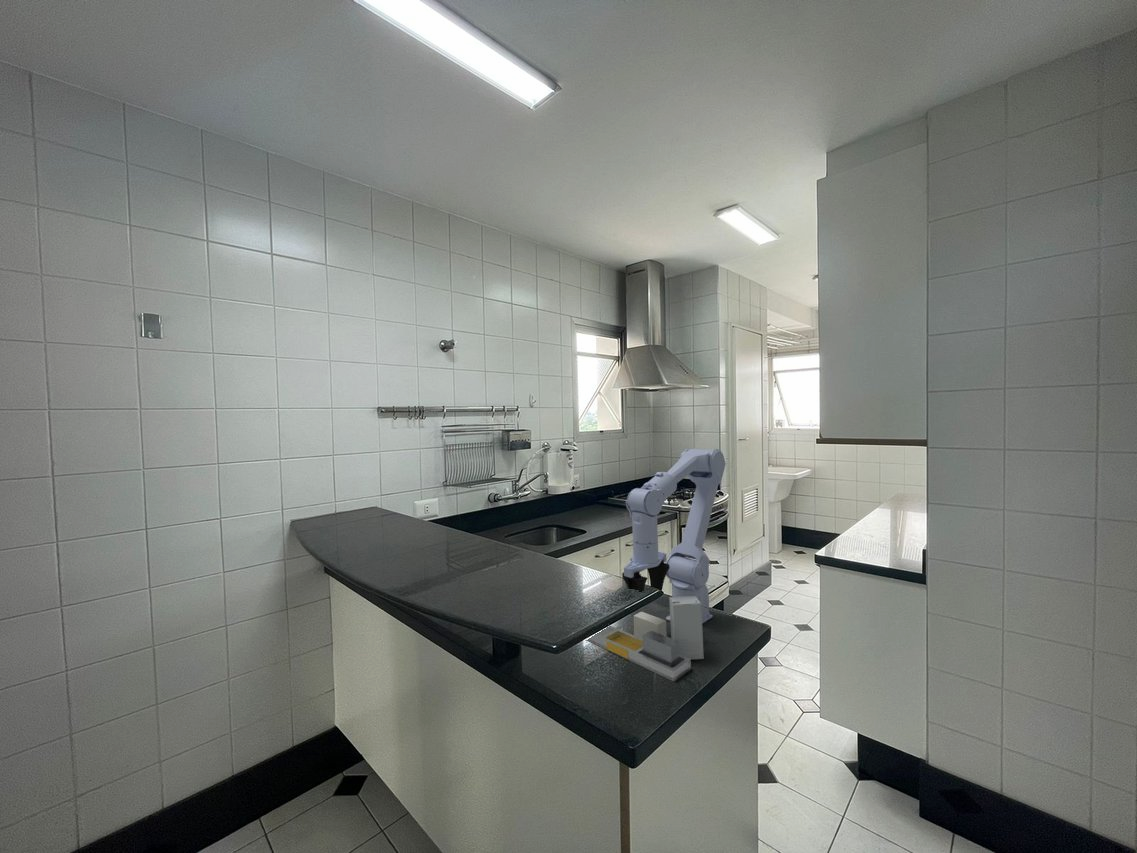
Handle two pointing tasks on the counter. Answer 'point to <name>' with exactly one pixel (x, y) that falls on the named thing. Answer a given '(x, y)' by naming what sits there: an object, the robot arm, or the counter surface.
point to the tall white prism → (648, 624)
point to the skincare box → (687, 625)
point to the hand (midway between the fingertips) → (647, 599)
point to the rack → (645, 651)
